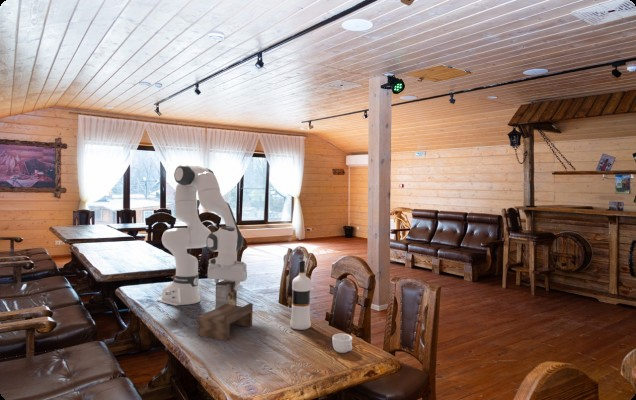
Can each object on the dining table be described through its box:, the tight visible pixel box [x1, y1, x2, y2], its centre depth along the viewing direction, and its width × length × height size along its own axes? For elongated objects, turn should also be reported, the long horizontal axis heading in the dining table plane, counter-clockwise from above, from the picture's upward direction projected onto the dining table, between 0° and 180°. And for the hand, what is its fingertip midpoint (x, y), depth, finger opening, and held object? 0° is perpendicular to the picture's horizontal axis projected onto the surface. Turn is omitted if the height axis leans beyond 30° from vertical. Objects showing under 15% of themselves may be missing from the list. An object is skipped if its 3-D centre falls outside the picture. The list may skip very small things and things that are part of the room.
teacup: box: [331, 333, 353, 354], centre depth 162 cm, size 10×8×5 cm
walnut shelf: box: [197, 303, 254, 342], centre depth 181 cm, size 14×20×10 cm
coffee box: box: [214, 280, 238, 309], centre depth 202 cm, size 9×6×16 cm
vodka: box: [289, 260, 312, 331], centre depth 188 cm, size 9×9×30 cm
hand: (227, 289), depth 202 cm, fingers open, 8 cm apart
